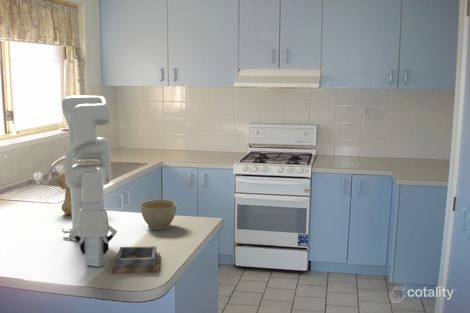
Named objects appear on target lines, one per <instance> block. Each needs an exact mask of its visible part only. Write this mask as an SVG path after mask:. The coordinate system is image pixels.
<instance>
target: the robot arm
mask: <svg viewBox="0 0 470 313" xmlns="http://www.w3.org/2000/svg"><path fill="white" fill-rule="evenodd" d="M61 109H62V113H63V117H64V118H65V121H66V123H67V126H68V132H69V133H68V134H69V148H68V150H67V151H66V153H65V155H64V158H63V159H64V160H63V171H64V172H65V181H66V184H67V186H68V187H70V190H71V206H72V215H71V226H70V227H62V228H61V229H62V230H61V232H62V233H63V234H68V238H69V240H71V241H73V242H78V244H79V249H80V252H81V255H85V250H84V239H85V238H95V237H96V235H98V237H99V238H103V240H104V254H105V255H106V254H107V252H108V251H109V242H110V241H111V240H112V239H113V237H115V236H116V235H117V233H118V230H116V229H115V228H114V227H112V226H111V225H110V224H109V217H108V211H107V208H106V207H105V195H104V186H105V185H109V184H110V183H111V180H112V163H111V162H112V161H111V160H112V159H111V146H110V142H109V140H108V139H107V138H106V137H103V136H102V137H101V136H98V132H97V126H109V124H110V123H111V120H112V114H111V108H110V105H109V104H108V101H107V99H106V97H104V96H103V95H70V96H69V95H68V96H66V97H64V98H62V100H61ZM73 160H75V161H98V162H94V163H93V162H91V163H89V162H87V163H85V162H84V163H76V164H73ZM109 232H111V234H110V235H108V234H109Z"/></svg>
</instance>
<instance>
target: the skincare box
mask: <svg viewBox="0 0 470 313" xmlns="http://www.w3.org/2000/svg"><path fill="white" fill-rule="evenodd" d="M84 250H85V254H84V265H85V266H91V267H97V268H99V267H101V266H102V265H104V264H105V263H106V254H104V240H103V238H99V237H98V235H96V237H95V238H85V239H84Z"/></svg>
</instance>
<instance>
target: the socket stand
mask: <svg viewBox="0 0 470 313" xmlns="http://www.w3.org/2000/svg"><path fill="white" fill-rule="evenodd" d="M160 259H161V252H157V245H156V246H155V245H154V246H120V247H119V250H118V253H117V254H116V257H115V260H114V263H113V265H112V268H111V274H113V275H114V274H116V275H117V274H138V273H139V274H140V273H141V274H143V273H144V274H145V273H146V274H147V273H159V269H160Z"/></svg>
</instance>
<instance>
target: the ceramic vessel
mask: <svg viewBox="0 0 470 313" xmlns="http://www.w3.org/2000/svg"><path fill="white" fill-rule="evenodd" d="M58 178H59V179H58V181H57V184H58V185H59V188H61V190H65V194H64V200H63V201H64V202H63V203H62V204H61V211H62V212H63V213H65V215H67V216H69V215H70V216H72V206H71V190H70V187H68V186H67V184H66V181H65V172H64V170H62V171H61V172H60V173H59V174H58Z"/></svg>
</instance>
